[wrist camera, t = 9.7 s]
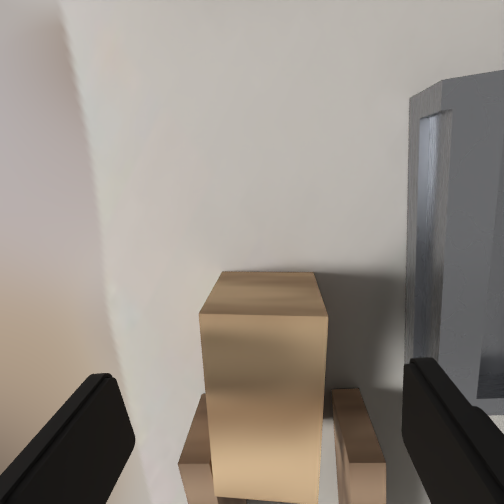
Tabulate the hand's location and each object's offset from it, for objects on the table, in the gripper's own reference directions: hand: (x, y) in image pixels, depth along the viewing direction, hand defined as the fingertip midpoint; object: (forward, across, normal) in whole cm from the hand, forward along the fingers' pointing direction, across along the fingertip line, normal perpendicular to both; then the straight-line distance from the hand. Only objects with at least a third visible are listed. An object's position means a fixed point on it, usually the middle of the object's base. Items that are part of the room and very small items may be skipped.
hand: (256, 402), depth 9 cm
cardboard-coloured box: (+7, 0, +3) cm, 8 cm away
